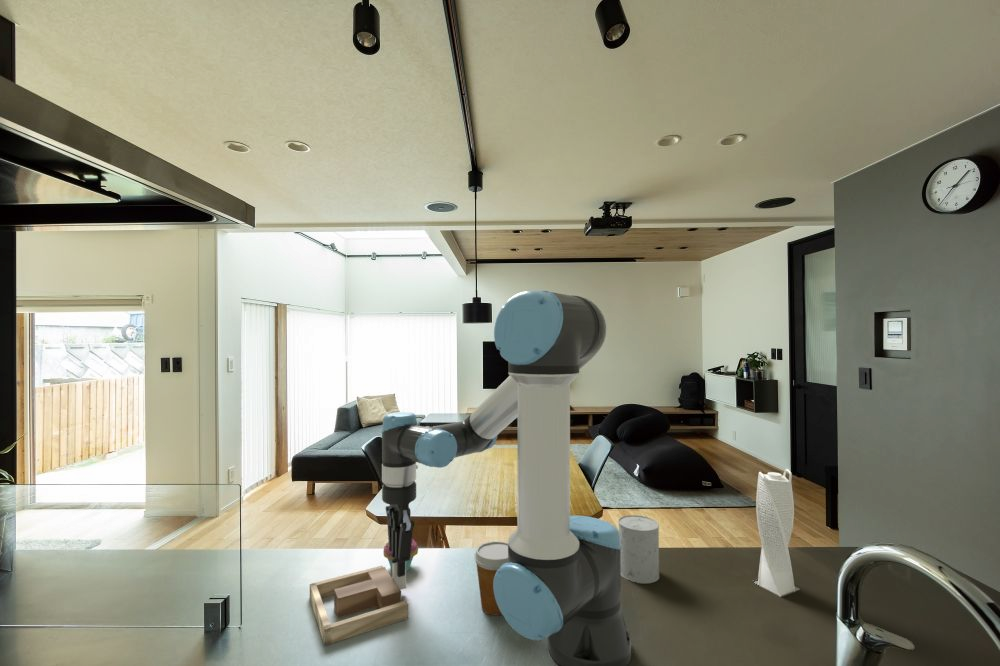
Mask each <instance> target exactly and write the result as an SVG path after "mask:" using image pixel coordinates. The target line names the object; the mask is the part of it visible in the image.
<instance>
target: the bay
mask: <svg viewBox="0 0 1000 666" xmlns="http://www.w3.org/2000/svg"><path fill="white" fill-rule="evenodd" d="M382 567H384V566H383V565H378V566H374V567H371V568H367V569H363V570H359V571H355V572H352V573H348V574H343V575H341V576H340V575H339V576H335V577H332V578H328V579H324V580H321V581H317V582H313V583H310V584H309V600H310V603H311V607H312V610H313V613H314V616H315V618H316V623H317V626H318V628H319V633H320V635H321V639H322V641H323V645H324V647H325V646H329V645H331V644H334V643H338V642H341V641H344V640H347V639H350V638H352V637H353V638H354V637H356V636H359V635H362V634H365V633H368V632H371V631H374V630H377V629H380V628H383V627H386V626H390V625H392V624H394V623H395V624H396V623H399V622H402V621H405V620H407V619H409V602H408V601H407V600H404V601H401V602H400V603H397V604H394V605H390V606H387V607H384V608H381V609H378V608H377V609H375V610H372V611H369V612H368V611H367V612H365V613H361V614H358V615H355V616H353V617H349V618H345V619H341V620H339V621H336V622H332V623H331V622H330V619H329V617H328V614H327V611H326V608H325V606H324V603H323V599H322V598H324V597H329V596H332V595H334V589H337V588H341V587H345V586H349V585H352V584H356V583H360V582H363V581H367V571H371V570H375V569H378V568H382Z"/></svg>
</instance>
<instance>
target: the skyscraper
mask: <svg viewBox="0 0 1000 666" xmlns="http://www.w3.org/2000/svg"><path fill="white" fill-rule="evenodd" d="M787 472H788V475H789V476H788V478H787V477H786V476H787ZM792 476H793V473H792V472H791V470H790V469H789V468H785V469H784V470H783V474H781V473H779V472H775V471H772V472H771V471H769V472H767V474H765V473H762V471H759V472H758V476H757V485H756V496H755V497H756V499H755V511H756V513H755V514H756V521H757V528H758V533H759V539H760V542H761V547H760V548H761V550H760V558H759V567H758V575H757V579H758V581H755V582H754V583H755V584H754V583H753V584H754V585H756V584H757V585H756V586H758V585H759V586H758V587H760V588H762V589H764V590H766V591H768V592H770V593H771V594H774V595H776V596H777V597H780V598H782V597H785V596H787V595H790V594H793V593H796V592H797V591H800V590H801V588H800V587H799V588H798V587H797V586H795V581H794V580H795V579H794V574H793V568H792V567H793V566H792V561H791V557H790V552H789V547H788V546H789V543H790V540H791V537H792V533H793V527H794V519H795V503H794V502H795V501H794V493H793V492H794V491H793V485H792Z"/></svg>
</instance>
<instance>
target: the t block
mask: <svg viewBox="0 0 1000 666" xmlns="http://www.w3.org/2000/svg"><path fill="white" fill-rule="evenodd" d="M333 597H334V598H333V609H334V612H335V614H336V617H337V619H340V618H342V617H343V618H344V617H347V616H350V615H355V614H357V613H359V612H360V613H361V612H363V611H367V610H370V609H373V608H377V609H381V608H384V607H387V606H390V605H394V604H397V603H400V602H402V589H401V590H400V589H399V587H398V586H397V584H396V583H395V581H394V580H393V578H392V576H391V574H390V572H389V571H388V569H387V568H386V567H385V566H383V567H382V568H378V569H375V570H371V571H367V581H363V582H360V583H356V584H352V585H349V586H345V587H341V588H337V589H334V594H333Z"/></svg>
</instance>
